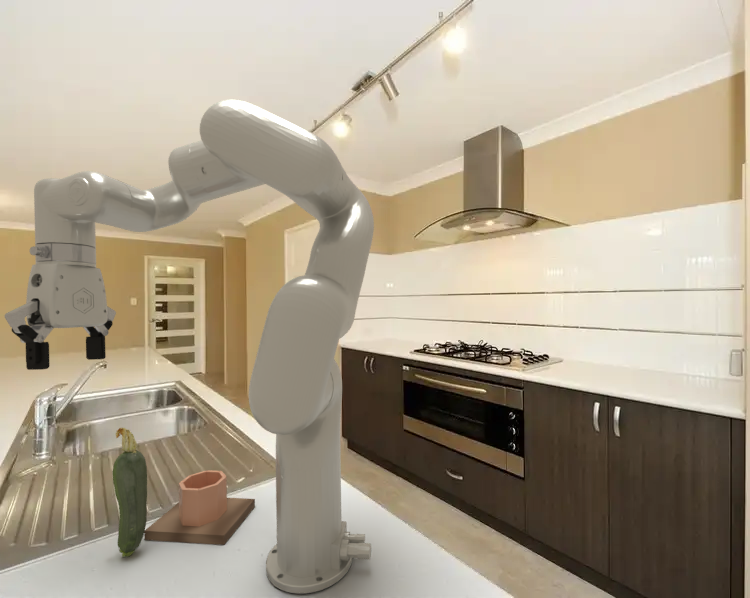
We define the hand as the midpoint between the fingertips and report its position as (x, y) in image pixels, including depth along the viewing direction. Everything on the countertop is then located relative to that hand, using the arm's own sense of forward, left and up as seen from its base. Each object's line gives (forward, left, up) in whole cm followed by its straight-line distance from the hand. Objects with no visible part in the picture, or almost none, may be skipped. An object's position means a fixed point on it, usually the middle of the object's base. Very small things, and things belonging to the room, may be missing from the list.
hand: (69, 363), depth 59 cm
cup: (-17, -8, -28) cm, 34 cm away
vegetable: (-11, +1, -30) cm, 32 cm away
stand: (-17, -8, -30) cm, 35 cm away
